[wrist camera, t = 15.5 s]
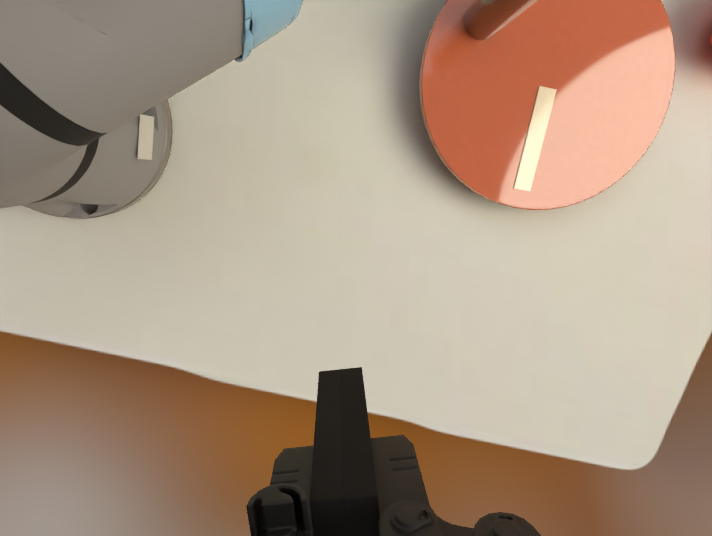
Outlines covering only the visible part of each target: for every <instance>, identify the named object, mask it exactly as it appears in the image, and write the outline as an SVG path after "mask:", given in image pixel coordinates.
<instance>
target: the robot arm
mask: <svg viewBox="0 0 712 536" xmlns="http://www.w3.org/2000/svg"><path fill="white" fill-rule="evenodd" d="M302 2H303V0H0V208H5V207H11V206H18V205H22V206H25V207H28V208H31V209H33V210H36V211H39V212H42V213H45V214H48V215H53V216H58V217H66V218H93V217H99V216H104V215H108V214H111V213H115V212H118V211H120V210H123V209H125V208H127V207H129V206H131V205H133V204H134V203H136V202H137V201H139V200H140V199H141V198H142V197H144V196H145V195H146V194H147V193H148V192H149V191H150V190H151V189H152V188H153V186H154V185H155V184H156V183H157V181H158V179H159V178H160V176H161V175H162V173H163V171H164V169H165V166H166V164H167V161H168V158H169V154H170V150H171V143H172V119H171V112H170V108H169V104H168V101H167V99H168V98H169V97H171V96H173V95H174V94H176V93H178V92H180V91H181V90H183V89H185V88H186V87H188V86H190V85H192V84H193V83H195V82H197V81H198V80H200V79H202V78H203V77H205V76H207V75H209V74H210V73H212V72H214V71H215V70H217V69H219V68H221V67H222V66H224V65H226V64H227V63H229V62H231V61H232V60H234V59H235V60H236V61H237V62H240V61H243V60H245V59H246V58H247V57H248V56H249V54H250V53H251V51H252V49H254V48H255V47H257V46H258V45H260V44H261V43H263V42H264V41H266V40H267V39H269V38H270V37H272V36H274V35H275V34H277V33H278V32H280V31H281V30H283V29H284V28H286V27H287V26H289V25H290V24H291V23H292V22H293V21H294V19H295V18H296V17H297V15H298V13H299V10H300V8H301V5H302ZM272 474H273V475H272V478H271V483H270V486H268V487H266V488H264V489H262V490H260V491H258V492H257V493H256V494H255V495H254V496H253V497H251V499H250V501H249V502H248V504H247V513H248V519H249V525H250V530H251V536H541V535H540V534H539V533H538V532H537V530H536V529H535V528H534V527H533V526H532V525H531V524H529V523H528V522H527V521H526V520H525V519H523V518H521V517H518V516H516V515H514V514H510V513H502V512H498V513H491V514H488V515H486V516H484V517H482V518H480V519H479V521H478V522H477V523H476V525H475V527H474V528H468V527H461V526H457V525H453V524H450V523H448V522H446V521H443V520H442V519H441V518H439V517H438V516H437V515H436V514H435V513H434V511H433V510H432V509H431V507H430V505H429V501H428V498H427V494H426V490H425V486H424V483H423V479H422V475H421V472H420V469H419V465H418V461H417V458H416V453H415V449H414V446H413V444H412V443H411V442H410V441H409V440H408V439H407V438H406V437H405V436H404V435H399V436H389V437H380V438H370V431H369V423H368V415H367V407H366V399H365V391H364V383H363V375H362V367H360V368H350V369H340V370H331V371H321V372H319V382H318V395H317V408H316V422H315V435H314V446H306V447H297V448H287V449H284V450H283V451H282V452H281V453H280V455H279V456H278V457H277V458H276V460H275V463H274V468H273V472H272Z"/></svg>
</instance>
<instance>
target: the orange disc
mask: <svg viewBox="0 0 712 536" xmlns="http://www.w3.org/2000/svg"><path fill="white" fill-rule="evenodd" d="M674 76H675V49H674V40H673V34H672V30H671V26H670V22H669V18H668V16H667V13H666V11H665V8H664V6H663V3H662V1H661V0H447V1H446V3H445V4H444V5H443V7H442V8H441V10H440V12H439V14H438V16H437V18H436V19H435V21H434V23H433V25H432V28H431V30H430V33H429V35H428V38H427V40H426V44H425V48H424V52H423V56H422V61H421V68H420V75H419V96H420V105H421V112H422V116H423V120H424V125H425V128H426V131H427V133H428V136H429V139H430V141H431V143H432V145H433V147H434V149H435V151H436V153H437V154H438V156H439V158H440V159H441V160H442V162H443V163H444V164H445V166H446V167H447V169H448V170H449V171H450V172H451V173H452V174H453V175H454V176H455V177H456V178H457V179H458V180H459V181H460V182H461V183H463V184H464V185H465V186H467V187H468V188H469V189H470V190H472V191H474V192H475V193H477V194H479V195H480V196H482V197H484V198H486V199H489V200H491V201H494V202H496V203H499V204H503V205H507V206H511V207H515V208H521V209H529V210H548V209H554V208H561V207H566V206H569V205H573V204H576V203H579V202H582V201H584V200H586V199H589V198H591V197H593V196H595V195H597V194H599V193H600V192H602V191H604V190H605V189H607V188H609V187H610V186H611V185H613V184H614V183H615V182H617V181H618V180H619V179H621V178H622V177H623V176H624V175H625V174H626V173H627V172H628V171H629V170H630V169H631V168H632V167H633V166H634V165H635V164H636V163H637V162H638V161H639V159H640V158H641V157H642V156H643V155H644V153H645V152H646V151H647V149H648V147H649V146H650V144H651V143H652V141H653V140H654V138H655V136H656V134H657V132H658V130H659V129H660V127H661V125H662V123H663V120H664V117H665V114H666V112H667V109H668V106H669V102H670V98H671V94H672V90H673V84H674Z"/></svg>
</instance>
